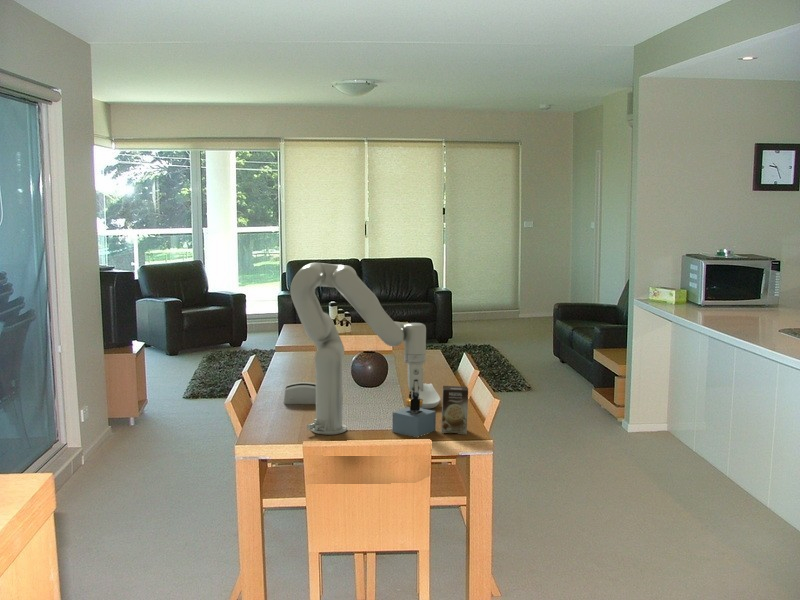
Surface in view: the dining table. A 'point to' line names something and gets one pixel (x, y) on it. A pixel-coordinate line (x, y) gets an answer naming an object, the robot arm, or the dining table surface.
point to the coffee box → (454, 409)
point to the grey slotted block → (300, 393)
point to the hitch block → (414, 422)
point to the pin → (408, 404)
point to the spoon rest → (429, 396)
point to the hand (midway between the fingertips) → (414, 407)
